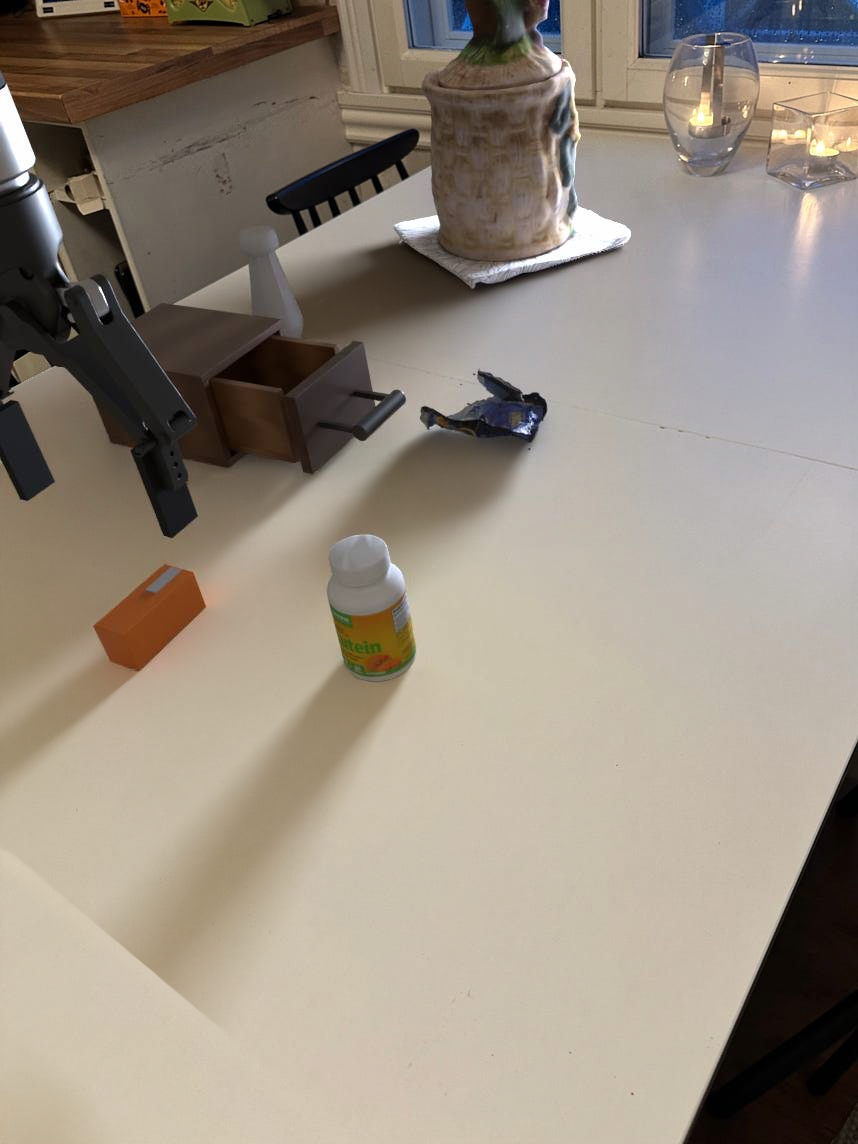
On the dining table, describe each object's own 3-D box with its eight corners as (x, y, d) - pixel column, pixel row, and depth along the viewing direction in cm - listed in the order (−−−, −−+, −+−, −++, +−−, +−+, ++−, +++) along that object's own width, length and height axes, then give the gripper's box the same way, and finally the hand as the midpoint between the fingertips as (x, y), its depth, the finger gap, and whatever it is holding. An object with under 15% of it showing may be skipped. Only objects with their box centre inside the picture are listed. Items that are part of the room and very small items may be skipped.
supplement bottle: (332, 675, 69) (302, 569, 63) (364, 628, 73) (340, 523, 66) (399, 690, 67) (376, 582, 61) (429, 640, 71) (410, 533, 65)
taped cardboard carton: (109, 661, 73) (91, 624, 70) (178, 598, 78) (163, 561, 75) (139, 671, 72) (122, 634, 69) (206, 606, 77) (193, 569, 74)
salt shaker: (267, 331, 116) (239, 220, 107) (312, 330, 115) (287, 218, 106) (252, 353, 112) (221, 240, 103) (299, 352, 111) (272, 237, 102)
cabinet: (303, 407, 100) (281, 318, 94) (228, 468, 92) (200, 376, 86) (188, 386, 107) (161, 302, 100) (110, 442, 99) (75, 355, 92)
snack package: (475, 391, 100) (401, 440, 93) (478, 335, 95) (401, 381, 88) (570, 436, 95) (500, 491, 88) (579, 379, 90) (506, 432, 84)
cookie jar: (474, 295, 118) (443, -15, 97) (389, 242, 135) (347, -33, 113) (637, 243, 126) (642, -55, 104) (538, 199, 142) (525, -66, 121)
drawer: (423, 423, 94) (412, 348, 88) (361, 485, 86) (345, 407, 81) (261, 395, 101) (242, 324, 96) (192, 449, 94) (167, 376, 89)
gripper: (-228, 196, 55) (-56, 504, 69) (84, 223, 45) (211, 576, 59) (-118, 156, 60) (22, 452, 74) (187, 173, 50) (282, 511, 64)
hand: (106, 508), depth 67 cm, fingers open, 13 cm apart
